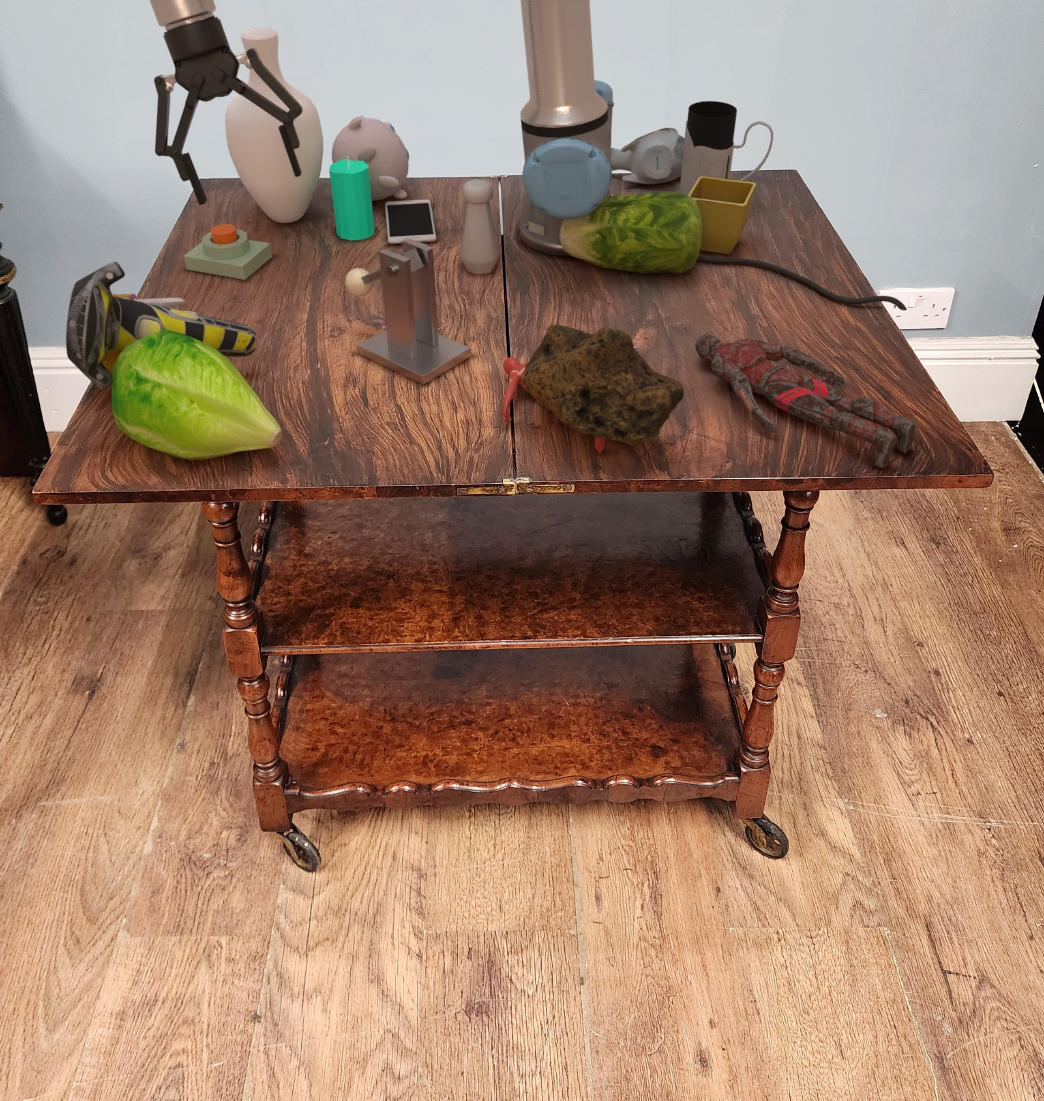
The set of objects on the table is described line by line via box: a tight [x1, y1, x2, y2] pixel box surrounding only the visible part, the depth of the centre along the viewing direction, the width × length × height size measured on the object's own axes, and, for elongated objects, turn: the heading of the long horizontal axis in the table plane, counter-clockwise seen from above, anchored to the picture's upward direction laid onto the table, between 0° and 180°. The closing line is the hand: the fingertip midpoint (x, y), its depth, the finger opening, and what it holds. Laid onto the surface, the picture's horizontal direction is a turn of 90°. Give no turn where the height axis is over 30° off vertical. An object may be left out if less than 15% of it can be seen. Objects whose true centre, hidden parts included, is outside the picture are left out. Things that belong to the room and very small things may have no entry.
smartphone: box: [384, 199, 438, 245], centre depth 172 cm, size 8×1×15 cm
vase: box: [224, 27, 324, 224], centre depth 164 cm, size 14×14×28 cm
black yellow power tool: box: [65, 261, 258, 391], centre depth 126 cm, size 14×26×10 cm
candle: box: [328, 156, 375, 241], centre depth 166 cm, size 6×6×12 cm
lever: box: [344, 248, 424, 297], centre depth 138 cm, size 14×4×4 cm
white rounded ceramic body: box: [611, 127, 685, 185], centre depth 183 cm, size 9×19×10 cm
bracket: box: [356, 238, 472, 386], centre depth 137 cm, size 12×9×15 cm
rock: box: [522, 323, 685, 445], centre depth 122 cm, size 13×12×20 cm
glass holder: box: [678, 100, 774, 195], centre depth 172 cm, size 9×14×15 cm, turn 74°
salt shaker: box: [459, 178, 500, 276], centre depth 156 cm, size 6×6×13 cm
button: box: [210, 223, 238, 245], centre depth 159 cm, size 4×4×2 cm
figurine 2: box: [695, 333, 917, 469], centre depth 131 cm, size 14×5×30 cm
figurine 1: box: [502, 356, 606, 453], centre depth 131 cm, size 16×4×20 cm
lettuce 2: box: [559, 190, 702, 276], centre depth 157 cm, size 12×21×11 cm, turn 86°
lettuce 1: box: [110, 329, 283, 461], centre depth 123 cm, size 14×20×12 cm
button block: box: [183, 228, 273, 281], centre depth 161 cm, size 10×8×4 cm
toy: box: [331, 115, 410, 202], centre depth 176 cm, size 14×12×15 cm
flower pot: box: [688, 176, 757, 255], centre depth 163 cm, size 9×9×9 cm
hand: (251, 189), depth 148 cm, fingers open, 13 cm apart
